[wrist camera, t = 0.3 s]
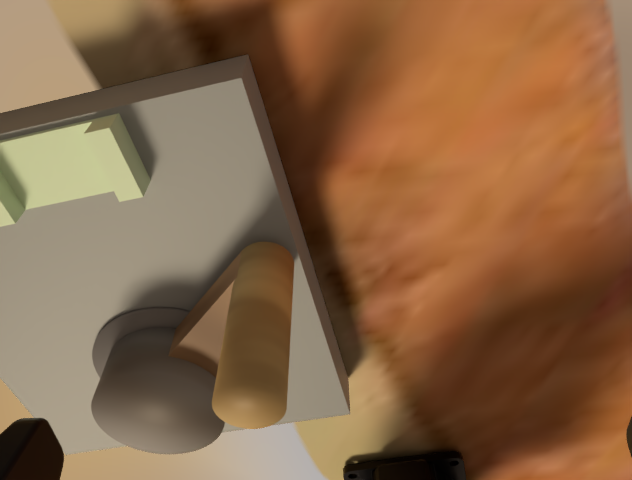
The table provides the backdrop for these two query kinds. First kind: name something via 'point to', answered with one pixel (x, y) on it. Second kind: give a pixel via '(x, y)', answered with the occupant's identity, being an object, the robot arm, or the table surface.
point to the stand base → (143, 236)
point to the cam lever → (205, 362)
